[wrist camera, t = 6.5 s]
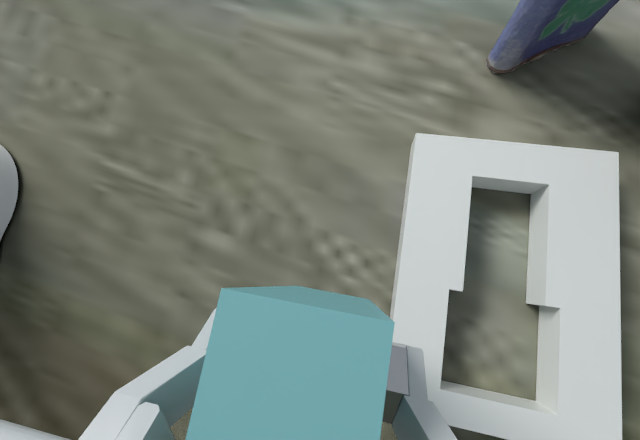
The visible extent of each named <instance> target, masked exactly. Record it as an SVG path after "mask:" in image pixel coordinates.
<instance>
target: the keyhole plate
mask: <svg viewBox="0 0 640 440" xmlns="http://www.w3.org/2000/svg"><path fill="white" fill-rule="evenodd" d="M472 187H474V188H483V189H491V190H500V191H508V192H516V193H525V194H531V200H530V223H529V245H528V268H527V290H526V303H527V304H532V305H538V306H539V325H538V352H537V380H536V401H534V400H529V399H525V398H520V397H515V396H511V395H506V394H502V393H497V392H493V391H488V390H483V389H479V388H474V387H470V386H465V385H461V384H456V383H451V382H447V381H442V380H441V374H442V363H443V352H444V341H445V330H446V319H447V308H448V297H449V290H451V291H463V284H464V272H465V260H466V248H467V236H468V224H469V212H470V200H471V188H472ZM390 319H392V320H393V321H394V322H395V324H394V332H393V340H392V342H395V343H400V344H405V345H407V346H413V347H418V348H421V349H422V351H423V355H424V365H425V375H426V385H427V395H428V400H429V401H432V402H433V403H434V404H435V406H436V407H437V409H438V410H439V412H440V413H441V415H442V417H443V418H444V420H445V421H446V423H447V424H448V425H449V426H453V427H458V428H462V429H466V430H470V431H474V432H478V433H483V434H487V435H491V436H495V437H499V438H503V439H507V440H622V383H621V303H620V224H619V152H611V151H600V150H590V149H579V148H569V147H558V146H548V145H537V144H526V143H516V142H505V141H495V140H484V139H473V138H463V137H452V136H442V135H431V134H421V133H416V135H415V138H414V140H413V143H412V146H411V151H410V159H409V167H408V175H407V183H406V191H405V199H404V207H403V215H402V223H401V231H400V239H399V247H398V255H397V263H396V271H395V279H394V287H393V295H392V303H391V311H390Z"/></svg>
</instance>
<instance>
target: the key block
mask: <svg viewBox="0 0 640 440" xmlns="http://www.w3.org/2000/svg"><path fill="white" fill-rule="evenodd" d="M394 324H395V322H394V321H393V320H392V319H390V318H389V317H388V316H387V315H386V314H385V313H384V312H383V311H381V310H380V309H379V308H378V307H377V306H376V305H375V304H374V303H372V302H371V301H370V300H369V299H364V298H359V297H354V296H349V295H343V294H338V293H333V292H327V291H322V290H317V289H311V288H306V287H301V286H275V287H243V288H221V292H220V296H219V300H218V304H217V309H216V313H215V317H214V321H213V325H212V330H211V334H210V338H209V342H208V347H207V351H206V355H205V359H204V363H203V368H202V372H201V376H200V380H199V385H198V389H197V393H196V397H195V401H194V406H193V410H192V414H191V418H190V423H189V427H188V431H187V435H186V440H380V434H381V427H382V419H383V411H384V403H385V395H386V387H387V379H388V371H389V363H390V356H391V348H392V340H393V332H394Z"/></svg>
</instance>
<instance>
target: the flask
mask: <svg viewBox="0 0 640 440" xmlns="http://www.w3.org/2000/svg"><path fill="white" fill-rule="evenodd" d="M618 1H619V0H521V1H520V2H519V4H518V6H517V8H516V9H515V11H514V13H513V15H512V17H511V18H510V20H509V22H508V24H507V25H506V27H505V29H504V30H503V32H502V33H501V35H500V37H499V38H498V40H497V42H496V44H495V46H494V47H493V49H492V50H491V52H490V54H489V56H488V58H487V67H489V69H491V71H492V72H493V74H497V73H507V72H511V71H514V70H516V69H517V67H518V66H520V65H523V64H525V63H528V62H533V61H536V60H537V61H538V59H540V58H542V57H543V56H544V55H545V54H546V53H547V52H549V51H552V50H553V51H555V52H556V50H557V49H558V48H560V47H562V46H569V45H571V44H573V43H576V42H579V41H582V40H583V39H584V38H585V37H586V36H587V34H588V33H589V32H590V31H591V30H592V29H593V27H594V26H595V25H596V24H597V23H598V22H599V21H600V20H601V19H602V18H603V17H604V16H605V15H606V14H607V12H608V11H609V10H610V9H611V8H612V7H613V6H614V5H615V4H616V3H617V2H618ZM488 65H489V66H488Z"/></svg>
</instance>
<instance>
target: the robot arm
mask: <svg viewBox="0 0 640 440" xmlns="http://www.w3.org/2000/svg"><path fill="white" fill-rule="evenodd" d="M17 195H18V175H17V170H16V166H15V163H14V161H13V159H12V157H11V155H10V154H9V153H8V151H7V150H6V149H5V148H4V147H3V146H1V145H0V241H1V238H2V236H3V234H4V232H5V230H6V228H7V226H8V224H9V222H10V219H11V217H12V214H13V212H14V208H15V205H16V201H17ZM216 309H217V308H216ZM216 309H215V310H214V311H213V312H212V314H211V316H210V317H209V319H208V320H207V322H206V324H205V325H204V327H203V328H202V330H201V332H200V333H199V335H198V336H197V338H196V340H195V341H194V343H193V344H192V346H186V347H184V348H183V349H181V350H180V351H178V352H176V353H175V354H173V355H172V356H170V357H169V358H167V359H165V360H164V361H162V362H161V363H159V364H158V365H156V366H154V367H153V368H151V369H150V370H148V371H147V372H145V373H143V374H142V375H140V376H139V377H137V378H136V379H134V380H132V381H131V382H129V383H128V384H126V385H125V386H123V387H121V388H120V389H118V390H117V391H115V392H114V393H113V395H112V396H111V397H110V399H109V400H108V401H107V403H106V404H105V405H104V406H103V408H102V409H101V410H100V412H99V413H98V414H97V416H96V417H95V418H94V420H93V421H92V422H91V424H90V425H89V426H88V428H87V429H86V430H85V431H84V433H83V434H82V435H81V437H80V438H79V439H78V440H176V439H175V437H174V435H173V433H172V431H171V429H170V427H171V426H172V425H173V424H174V423H175V422H176V421H178V420H179V419H180V418H181V417H182V416H183V415H184V414H185V413H187V412H188V411H189V410H190V409H191V408H192V407H193V406H194V401H195V397H196V393H197V389H198V385H199V380H200V376H201V372H202V368H203V363H204V359H205V355H206V351H207V347H208V342H209V338H210V334H211V330H212V325H213V321H214V317H215V313H216ZM382 421H383V422H386V423H390V424H392V428H393V430H394V432H395V434H396V437H397V439H398V440H457V438H456V437H455V435H454V434H453V432H452V431H451V429H450V427H449V426H448V424H447V423H446V421H445V420H444V418H443V417H442V415H441V413H440V412H439V410H438V409H437V407H436V406H435V404H434V403H433V402H432V401H429V400H428V395H427V385H426V375H425V365H424V355H423V351H422V349H421V348H418V347H413V346H407V345H405V344H400V343H395V342H392V348H391V356H390V363H389V371H388V379H387V387H386V395H385V403H384V411H383V419H382ZM0 440H70V439H67V438H64V437H60V436H57V435H53V434H50V433H46V432H43V431H39V430H36V429H33V428H29V427H26V426H22V425H19V424H15V423H12V422H8V421H5V420H2V419H0Z"/></svg>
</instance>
